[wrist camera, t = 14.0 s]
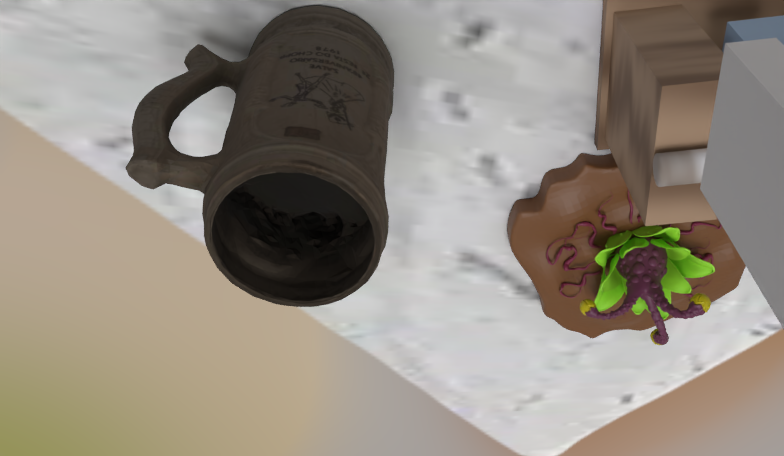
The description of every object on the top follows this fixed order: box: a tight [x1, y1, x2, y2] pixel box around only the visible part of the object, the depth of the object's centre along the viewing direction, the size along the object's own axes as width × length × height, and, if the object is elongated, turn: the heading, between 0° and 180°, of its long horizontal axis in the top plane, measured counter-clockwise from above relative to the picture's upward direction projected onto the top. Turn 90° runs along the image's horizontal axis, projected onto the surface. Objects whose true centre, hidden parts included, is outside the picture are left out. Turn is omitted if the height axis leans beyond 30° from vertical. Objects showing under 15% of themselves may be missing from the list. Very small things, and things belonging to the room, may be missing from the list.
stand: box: [595, 0, 784, 226], centre depth 47 cm, size 12×17×14 cm
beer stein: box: [126, 6, 394, 307], centre depth 46 cm, size 15×11×20 cm
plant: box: [507, 153, 746, 345], centre depth 59 cm, size 20×20×11 cm
